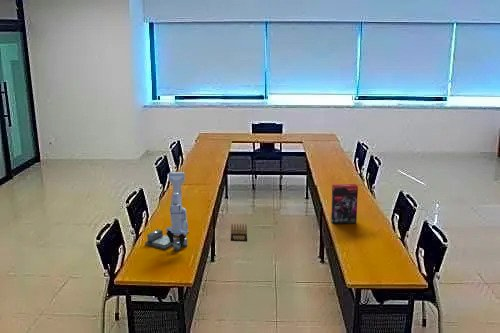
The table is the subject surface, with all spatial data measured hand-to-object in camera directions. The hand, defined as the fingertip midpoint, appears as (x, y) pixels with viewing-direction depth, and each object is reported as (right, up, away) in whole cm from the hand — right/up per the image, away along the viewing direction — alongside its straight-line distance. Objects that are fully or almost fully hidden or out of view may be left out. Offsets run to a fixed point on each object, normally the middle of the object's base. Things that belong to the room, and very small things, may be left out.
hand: (176, 243), depth 324 cm
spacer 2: (+3, -2, +7) cm, 8 cm away
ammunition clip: (+38, 0, +15) cm, 41 cm away
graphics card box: (+111, +8, +46) cm, 120 cm away
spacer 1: (0, -4, +1) cm, 4 cm away
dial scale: (-10, -1, +11) cm, 15 cm away
